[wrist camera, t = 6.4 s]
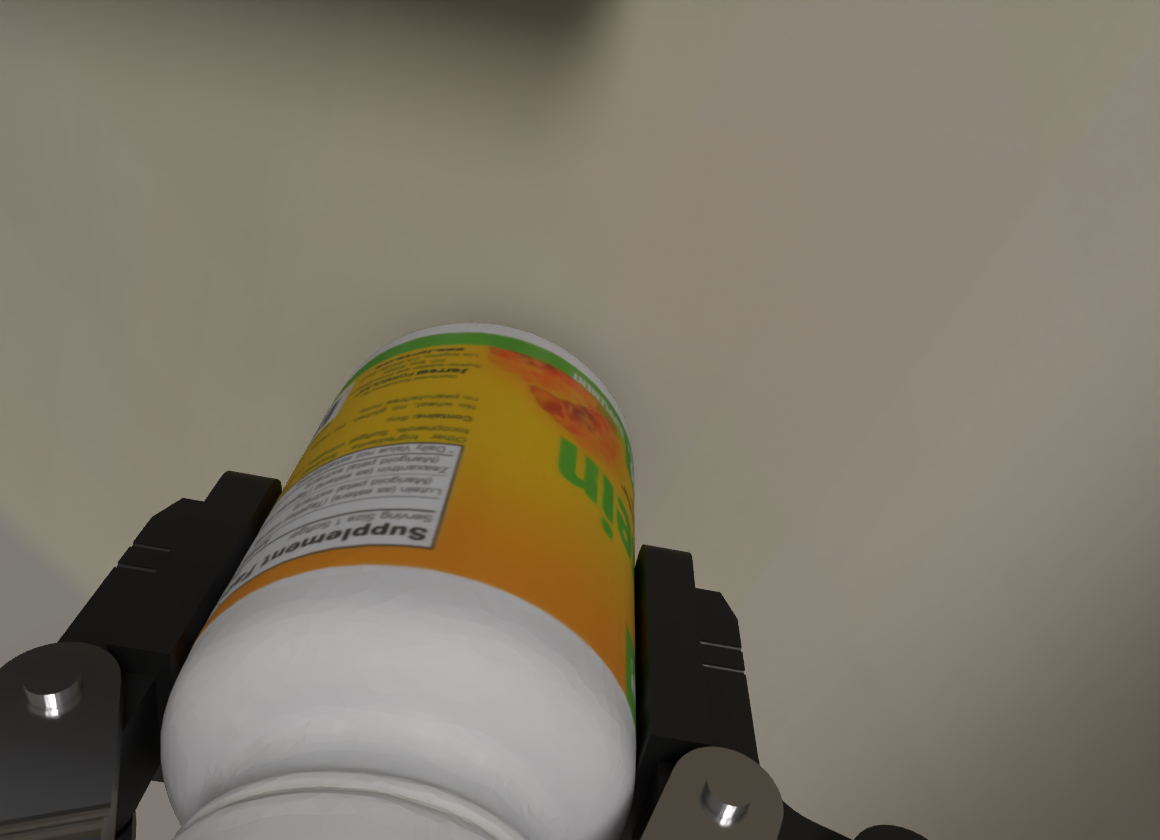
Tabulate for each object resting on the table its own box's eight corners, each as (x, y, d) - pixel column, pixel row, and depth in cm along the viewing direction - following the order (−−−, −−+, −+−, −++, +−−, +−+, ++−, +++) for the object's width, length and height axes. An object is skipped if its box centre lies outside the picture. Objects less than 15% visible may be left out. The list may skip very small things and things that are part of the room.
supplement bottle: (667, 537, 17) (705, 1171, 9) (402, 593, 18) (206, 1209, 10) (583, 275, 14) (522, 817, 6) (281, 358, 15) (-134, 919, 7)
